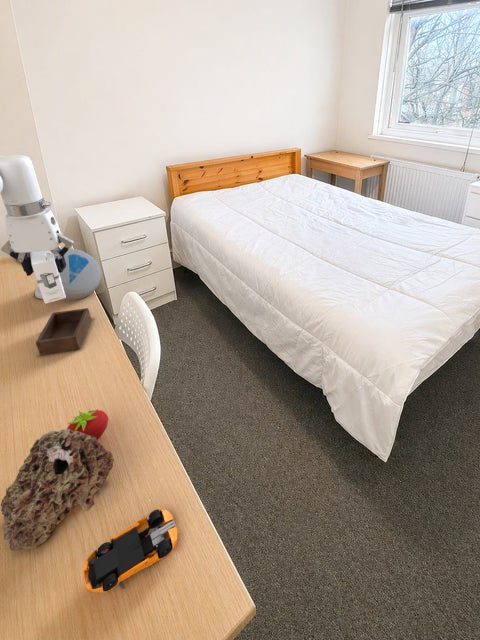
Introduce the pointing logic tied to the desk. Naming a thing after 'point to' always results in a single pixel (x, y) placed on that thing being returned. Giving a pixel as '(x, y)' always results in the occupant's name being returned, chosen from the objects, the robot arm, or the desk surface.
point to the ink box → (47, 276)
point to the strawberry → (90, 423)
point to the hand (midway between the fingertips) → (46, 271)
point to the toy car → (130, 552)
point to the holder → (64, 332)
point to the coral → (53, 485)
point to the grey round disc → (79, 274)
